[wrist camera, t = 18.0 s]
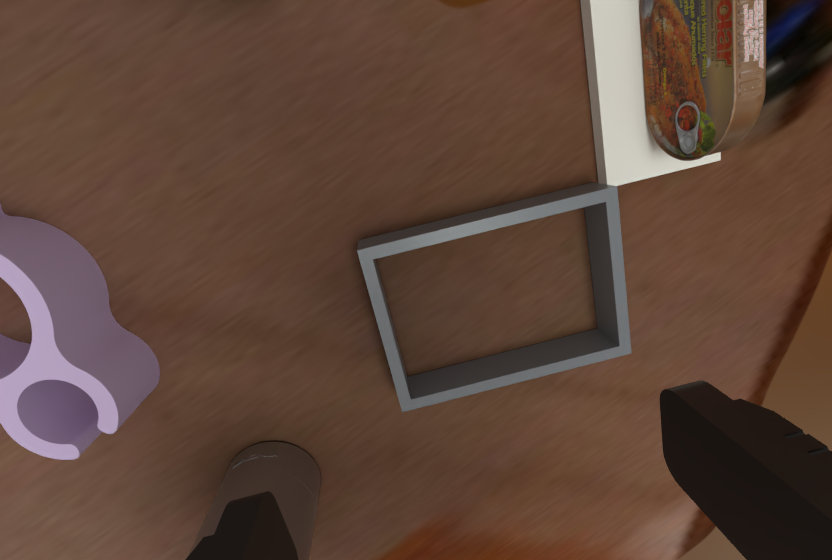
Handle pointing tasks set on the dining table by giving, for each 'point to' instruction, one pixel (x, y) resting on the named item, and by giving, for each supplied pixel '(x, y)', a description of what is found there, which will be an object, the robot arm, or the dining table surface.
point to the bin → (530, 359)
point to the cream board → (622, 96)
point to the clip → (65, 346)
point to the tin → (702, 72)
